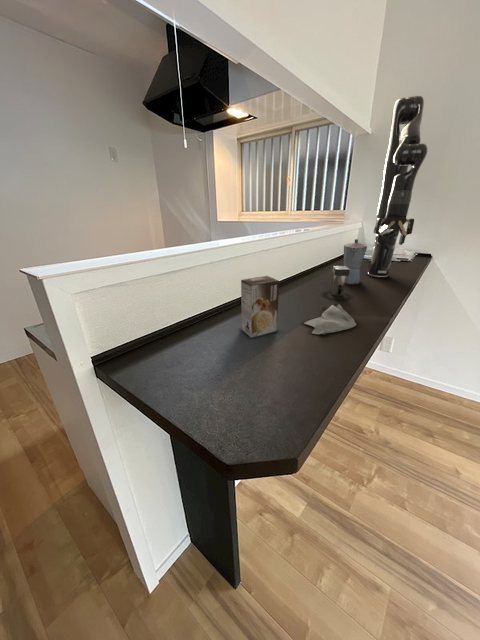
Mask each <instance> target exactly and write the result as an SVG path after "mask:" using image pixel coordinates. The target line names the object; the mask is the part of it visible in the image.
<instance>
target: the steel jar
mask: <svg viewBox="0 0 480 640" xmlns="http://www.w3.org/2000/svg"><path fill="white" fill-rule="evenodd" d="M349 271H350V269H349V268H348V267H347V266H344V265H333V266H332V272H331V273H332V274H333V278H332V282H331V283H332V284H331V289H330V290H331V291H330V295H332V296H335V297H343V296H344V292H345V288H346V283H345V282H346V276H349Z"/></svg>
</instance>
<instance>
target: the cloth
mask: <svg viewBox="0 0 480 640" xmlns="http://www.w3.org/2000/svg"><path fill="white" fill-rule="evenodd" d="M343 308H344V307H342V306H341V304H340V303H338V304H337V305H334V304H331V305H330V306H329V307H328V308H327V309H326V310H324V311H323V312H322V313H321V315H320V316H319V317H316V318H312V319H310V320H307V321H305V322H303V324H304V325H306V326H309V327H312V328H314V329H313V330H312V331H311V334H313V335H318V336H319V335H323V336H324V335H329V334H332V333H336V332H341V331H345V330H349V329H352V328H354V327H356V326H357V322H355V319H354V318H353V317H352V316H351V315H350V314H349V313H348V312H347V311H346V310H345V309H343Z"/></svg>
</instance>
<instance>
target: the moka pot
mask: <svg viewBox="0 0 480 640" xmlns="http://www.w3.org/2000/svg"><path fill="white" fill-rule="evenodd" d="M367 250H368V246H367V245H365V244H363V243H359V239H358V238H355V239H354V242H351V243H347V244H344V245H343V266H347V267H348V268H349V269H350V271H349V276H346V282H345V284H347V285H358V284H360V281H361V280H360V279H361V265H362V264H363V261H364V259H365V255H366V252H367Z"/></svg>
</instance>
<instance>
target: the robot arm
mask: <svg viewBox="0 0 480 640" xmlns="http://www.w3.org/2000/svg"><path fill="white" fill-rule="evenodd" d="M424 107H425V100H424V97H423V96H422V95H412V96H406V97H400V98H398V99H396V101H395V103H393V108H392V111H391V112H392V113H391V120H390V121H391V122H390V129H389V132H390V133H389V140H388V147H387V151H386V152H387V153H386V158H385V164H384V170H383V180H382V187H381V191H380V192H381V193H380V197H379V202H378V207H377V211H376V215H375V225H374V228H373V233H374V234H375V237H374V244H373V248H372V253H371V257H370V259H368V262H369V266H368V271H367V276H369V277H372V278H375V279H376V278H377V279H386V278H388V277H389V272H390V269H391V264H392V260H393V256H394V252H395V248H396V245H397V240H398V237H399V240H398V245H399V246H402V245H403V244H405V241H406V237H407V236H408V235H411V234H412V233H413V228H414V225H415V218H411V217H410V218H407V216H408V213H409V209H410V205H411V204H410V203H411V201H412V196H413V189H414V186H415V181H416V178H417V176H418V173H419V170H420V169H421V167H422V165H423V162H424V161H425V159H426V158H427V155H428V146H427V144H426V143H421V125H422V119H423V113H424ZM400 125H404V126H403V127H402V129H400V127H401V126H400ZM409 167H411V168H410V169H409ZM408 169H409V170H408ZM405 224H406V225H407V227H406V228H405V227H404V225H405ZM380 228H381V229H380ZM399 234H400V236H399Z"/></svg>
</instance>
